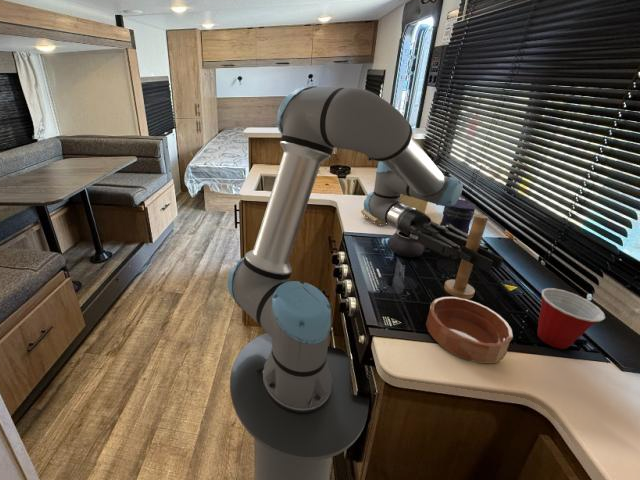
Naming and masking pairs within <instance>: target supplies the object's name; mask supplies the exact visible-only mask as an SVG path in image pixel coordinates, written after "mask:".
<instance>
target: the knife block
mask: <svg viewBox="0 0 640 480" xmlns="http://www.w3.org/2000/svg"><path fill="white" fill-rule="evenodd" d="M424 151H425V153H426V154H427V155H428V156H429V158H430V159H431V160H432V161H433V163H434V164H435V165H436V166H437V167H438V165H439V164H440V163H441V162H442V158H440V157H439V156H437V157H435V155H434V154H432V151H431V150H430V149H427V150H424ZM442 174H443V175H444V176H446V177H448V176H449V175H450V174H451V172H449V171H448V170H446V171H444V172H442ZM399 201H400V202H401V203H404V204H406V205H408V206H410V207H413V208H415V209H416V210H419V211H421V212H423V213H425V214H426V210H427V206H428V203H429V202H427V201H424V200H420V199H417V198H414V197H410V196H406V195H403V194H401V195H400V199H399ZM360 213H361V214H362V216H364V215H365V216H364V217H366V218H367V217H368V218H369V219H368V218H367V219H368V220H369V221H371V220H372V221H371V222H372V223H374V222H375V223H374V224H375V225H377V224H381V225H380V226H386V225H388V224H386V223H385V222H383V221H382V220H380V219H378V218H375V217H373V216H372V215H371V214H370V213H368V212H367V211H366V210H365V208H364V207H363V208H362V209H361V210H360Z"/></svg>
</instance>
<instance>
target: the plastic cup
mask: <svg viewBox="0 0 640 480" xmlns="http://www.w3.org/2000/svg"><path fill="white" fill-rule="evenodd" d="M539 311H540V312H539V316H538V325H537V332H536V334H537V337H538V338H539V340H540V341H542V342H543V343H544V344H546V345H548V346H550V347H552V348H554V349H560V350H567V349H568V348H569V347H571V346H572V345H573V344H574V343H575V342H576V341H578V340H579V339H580V337H581V336H582V335H584V334H585V333H586V332H587V330H589V329H590V328H591V327H592V326H594V324H596V323H600V322H602V321H603V320H605V319H606V315H605V313H604V311H602V309H601V308H600V307H599V306H597V305H596V304H594V303H593V302H591V301H590V300H588V299H586V298H584V297H582V296H580V295H578V294H576V293H573V292H570V291H568V290H564V289H559V288H555V287H547V288H544V289H542V290H541V306H540V310H539Z"/></svg>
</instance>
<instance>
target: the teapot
mask: <svg viewBox="0 0 640 480" xmlns="http://www.w3.org/2000/svg"><path fill="white" fill-rule="evenodd" d="M409 238H410V237H409V236H408V235H406V234H404V233H402V232H401V231H399V230H397V229H396V230H395V232H394V233H393V234H392V235H391V236H389V238H388V240H387V242H386V247H387V249H388V250H389V251H390V252H392V253H393V254H396V255H398V256H401V257H407V258H417V257H420V256H422V255H423V253H424V251H425V250H426V249H427V248H428V247H426V246H424V245H422V244H420V243H417V242H414V241H411V240H409Z"/></svg>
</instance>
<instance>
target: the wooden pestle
mask: <svg viewBox="0 0 640 480" xmlns="http://www.w3.org/2000/svg"><path fill="white" fill-rule="evenodd" d="M488 221H489V217H488V216H487V215H485V214H481V213H477V214H474V215H473V218H472V221H471V222H472V223H471V226H470V228H469V231H468V235H469V236H468V239H467V243H466V246H465V247H467V248H469V249H471V250H473V251H475V252H478V248H479V246H480V245H481V242H482V240H483V239H482V238H483V235H484V233H485V230H486V226H487V223H488ZM473 267H474V265H473V264H471V263H469V262H468V261H466V260H464V259H462V258H460V263H459V266H458V270H457V273H456V276H455V279H447V280H445V282H444V286H443V288H444V291H446V292H447V293H448V294H449V295H451V296H452V297H458V298H462V299H467V300H471V299H472V298H473V297H474V296H475V292H476V291H475V288H474V287H473V286H472V285H470V284H469V279H470V276H471V274H472V270H473Z"/></svg>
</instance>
